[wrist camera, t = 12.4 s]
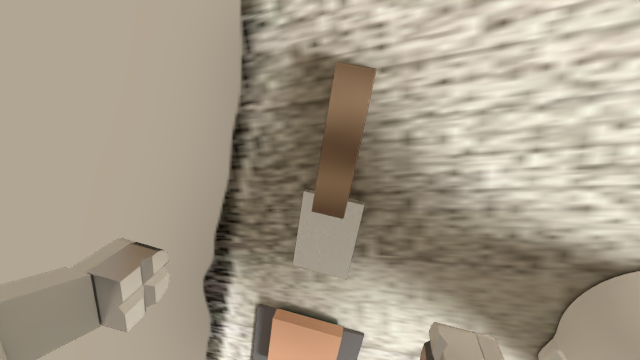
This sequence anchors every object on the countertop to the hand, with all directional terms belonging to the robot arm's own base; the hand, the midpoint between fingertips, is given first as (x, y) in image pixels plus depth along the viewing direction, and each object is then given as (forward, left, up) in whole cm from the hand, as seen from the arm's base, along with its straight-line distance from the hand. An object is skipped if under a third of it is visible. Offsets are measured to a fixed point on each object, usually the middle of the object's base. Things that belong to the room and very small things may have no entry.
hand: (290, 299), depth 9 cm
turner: (-2, +3, -20) cm, 20 cm away
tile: (-14, +15, -18) cm, 28 cm away
